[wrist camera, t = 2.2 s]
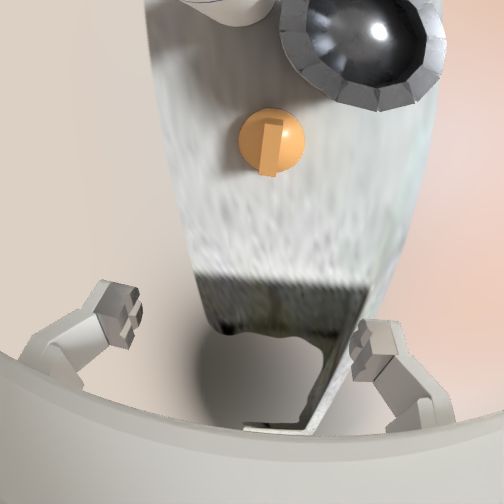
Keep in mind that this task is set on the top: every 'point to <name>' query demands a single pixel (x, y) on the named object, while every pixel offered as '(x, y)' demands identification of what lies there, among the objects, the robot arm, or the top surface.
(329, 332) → the top surface
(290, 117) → the cap
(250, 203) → the top surface
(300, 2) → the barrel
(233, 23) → the cylindrical container
